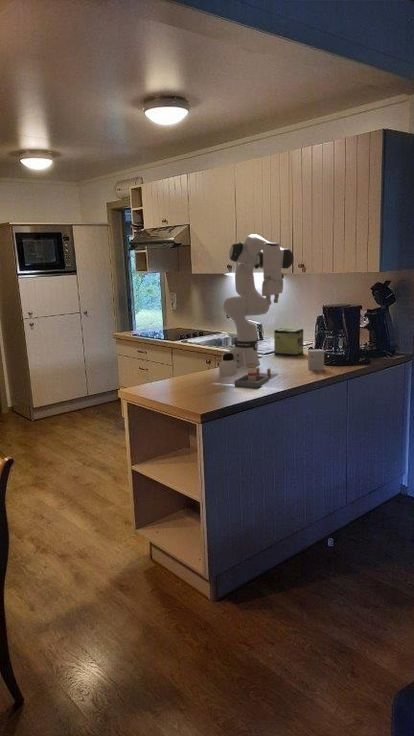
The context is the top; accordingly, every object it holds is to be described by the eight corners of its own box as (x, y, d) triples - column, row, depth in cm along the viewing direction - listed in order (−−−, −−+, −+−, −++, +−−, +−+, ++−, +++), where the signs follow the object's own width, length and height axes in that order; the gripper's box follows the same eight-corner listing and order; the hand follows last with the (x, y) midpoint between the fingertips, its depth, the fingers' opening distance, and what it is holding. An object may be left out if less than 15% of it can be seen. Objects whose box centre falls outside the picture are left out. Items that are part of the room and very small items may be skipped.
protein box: (297, 356, 318) (297, 331, 314) (273, 354, 326) (273, 330, 323) (303, 353, 326) (303, 329, 323) (280, 352, 335) (280, 327, 331)
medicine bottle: (236, 375, 275) (236, 352, 272) (231, 378, 268) (231, 355, 266) (224, 374, 278) (223, 351, 275) (219, 377, 271) (218, 354, 269)
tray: (234, 386, 250) (234, 380, 249) (246, 380, 262) (246, 374, 261) (257, 389, 244) (257, 382, 244) (268, 382, 256) (268, 376, 256)
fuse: (246, 383, 252) (245, 364, 250) (250, 381, 256) (250, 363, 254) (253, 383, 250) (253, 365, 248) (257, 382, 253) (257, 363, 252)
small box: (322, 368, 284) (323, 349, 281) (324, 370, 278) (324, 350, 276) (307, 368, 284) (307, 349, 282) (308, 370, 279) (308, 351, 277)
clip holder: (247, 379, 264) (247, 369, 262) (257, 374, 274) (256, 365, 273) (270, 381, 258) (270, 371, 257) (278, 376, 268) (278, 366, 267)
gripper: (270, 276, 249) (271, 306, 251) (285, 274, 266) (285, 302, 269) (258, 277, 252) (258, 305, 254) (273, 274, 269) (273, 301, 272)
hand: (272, 303), depth 262 cm, fingers open, 8 cm apart
